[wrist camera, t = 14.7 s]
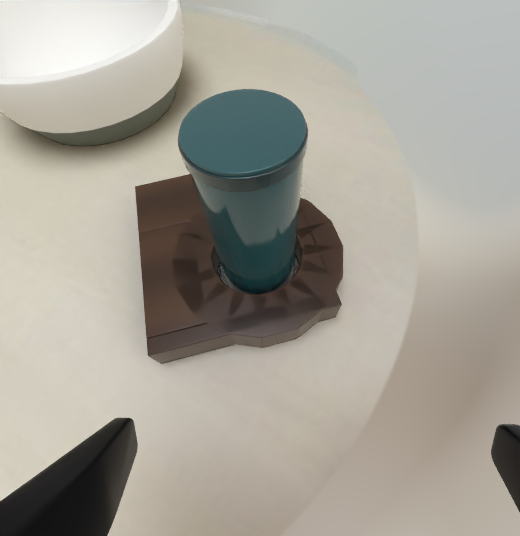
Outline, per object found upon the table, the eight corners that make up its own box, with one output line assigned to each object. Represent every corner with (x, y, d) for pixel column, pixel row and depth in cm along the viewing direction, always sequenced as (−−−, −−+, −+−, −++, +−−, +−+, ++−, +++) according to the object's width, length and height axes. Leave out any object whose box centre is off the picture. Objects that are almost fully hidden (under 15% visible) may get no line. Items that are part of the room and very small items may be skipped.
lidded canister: (264, 316, 23) (250, 197, 11) (208, 274, 25) (148, 137, 13) (308, 262, 25) (334, 115, 13) (253, 227, 27) (235, 74, 15)
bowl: (84, 40, 44) (46, -38, 37) (226, 60, 40) (215, -24, 33) (-32, 142, 35) (-115, 63, 27) (139, 184, 30) (94, 103, 23)
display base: (363, 320, 22) (372, 308, 20) (161, 375, 21) (148, 368, 19) (296, 170, 30) (298, 149, 28) (145, 205, 29) (135, 186, 26)
